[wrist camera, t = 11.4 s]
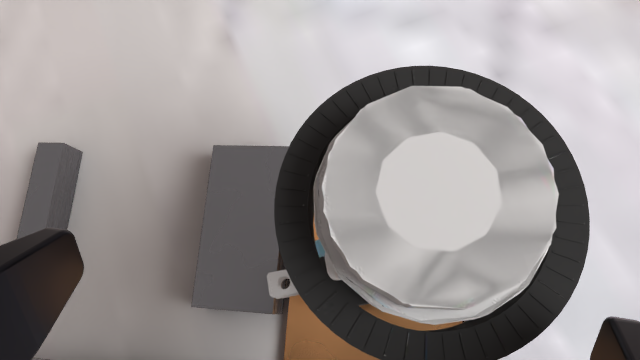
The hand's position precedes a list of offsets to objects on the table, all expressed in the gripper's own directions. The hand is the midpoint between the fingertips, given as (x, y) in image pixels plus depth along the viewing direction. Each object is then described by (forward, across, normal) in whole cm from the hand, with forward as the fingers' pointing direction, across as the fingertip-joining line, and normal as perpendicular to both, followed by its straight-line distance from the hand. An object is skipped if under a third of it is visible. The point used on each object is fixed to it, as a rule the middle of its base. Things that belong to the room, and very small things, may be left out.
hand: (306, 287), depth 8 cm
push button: (+7, 0, +6) cm, 9 cm away
